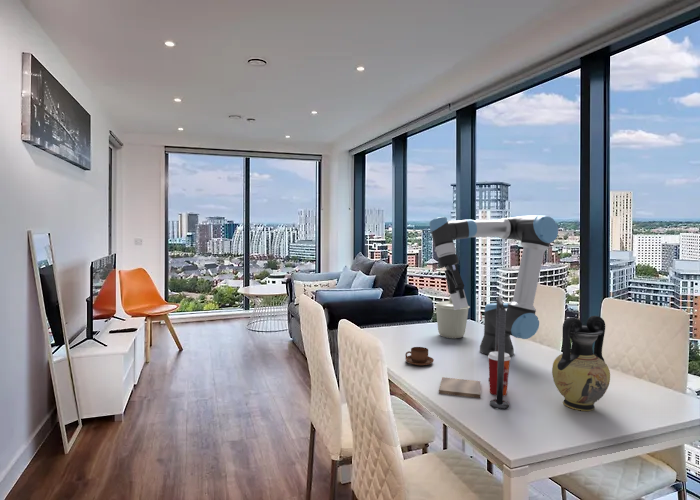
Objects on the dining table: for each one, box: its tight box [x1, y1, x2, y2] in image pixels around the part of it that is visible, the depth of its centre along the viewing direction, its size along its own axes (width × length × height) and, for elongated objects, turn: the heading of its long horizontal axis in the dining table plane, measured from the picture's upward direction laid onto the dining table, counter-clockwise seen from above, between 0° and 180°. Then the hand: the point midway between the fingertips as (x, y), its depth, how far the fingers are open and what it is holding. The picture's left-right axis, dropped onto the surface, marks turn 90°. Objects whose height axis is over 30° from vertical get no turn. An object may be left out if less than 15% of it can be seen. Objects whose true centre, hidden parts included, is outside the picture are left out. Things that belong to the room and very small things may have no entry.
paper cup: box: [487, 351, 512, 397], centre depth 160 cm, size 8×8×14 cm
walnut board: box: [438, 376, 481, 399], centre depth 164 cm, size 14×14×1 cm
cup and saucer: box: [405, 346, 435, 367], centre depth 193 cm, size 12×12×6 cm
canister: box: [434, 296, 471, 339], centre depth 240 cm, size 18×18×21 cm
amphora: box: [551, 315, 611, 412], centre depth 149 cm, size 18×17×30 cm
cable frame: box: [489, 296, 510, 411], centre depth 159 cm, size 30×6×33 cm, turn 164°
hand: (461, 308), depth 175 cm, fingers open, 13 cm apart
